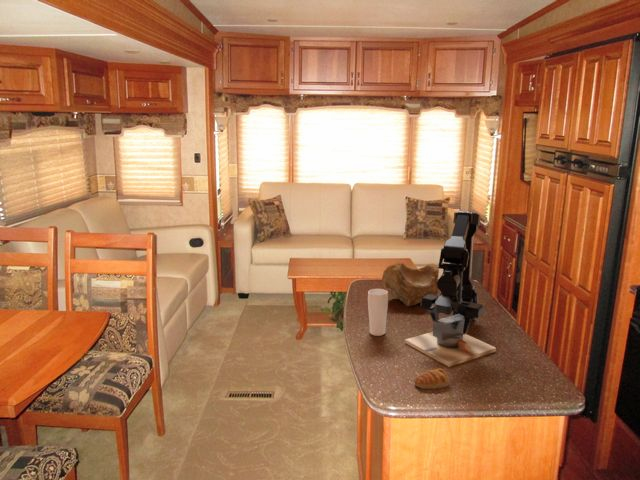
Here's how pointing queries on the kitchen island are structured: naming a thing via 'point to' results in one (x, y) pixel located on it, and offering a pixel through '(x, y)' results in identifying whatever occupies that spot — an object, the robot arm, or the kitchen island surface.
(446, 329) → the coupling
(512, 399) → the kitchen island surface
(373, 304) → the drinking glass
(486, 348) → the beige square board
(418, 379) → the pastry
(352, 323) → the kitchen island surface
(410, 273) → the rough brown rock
